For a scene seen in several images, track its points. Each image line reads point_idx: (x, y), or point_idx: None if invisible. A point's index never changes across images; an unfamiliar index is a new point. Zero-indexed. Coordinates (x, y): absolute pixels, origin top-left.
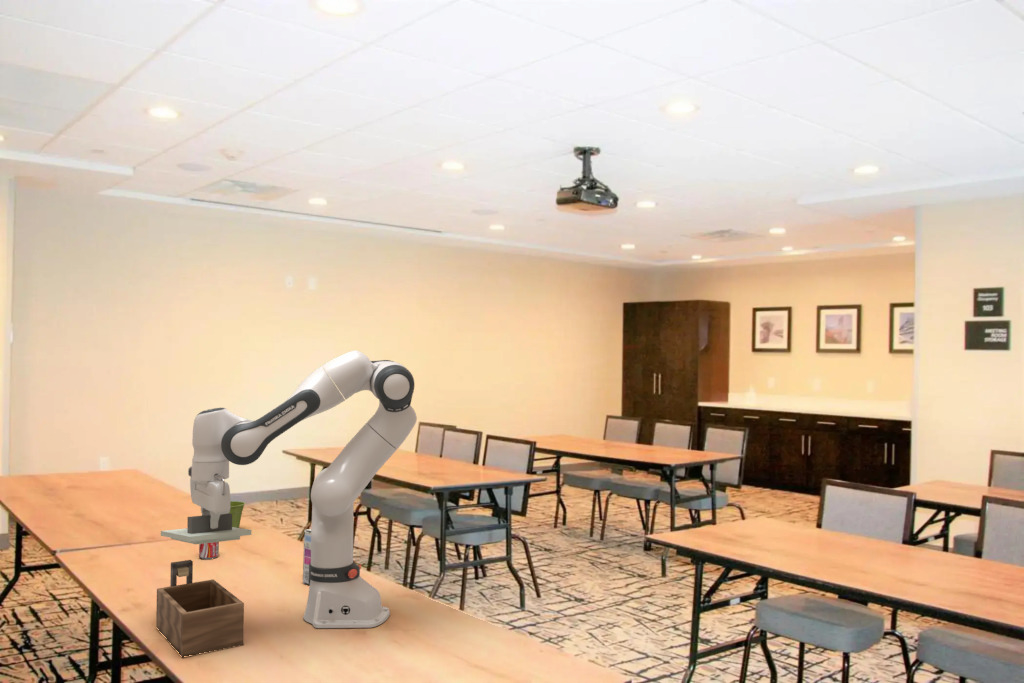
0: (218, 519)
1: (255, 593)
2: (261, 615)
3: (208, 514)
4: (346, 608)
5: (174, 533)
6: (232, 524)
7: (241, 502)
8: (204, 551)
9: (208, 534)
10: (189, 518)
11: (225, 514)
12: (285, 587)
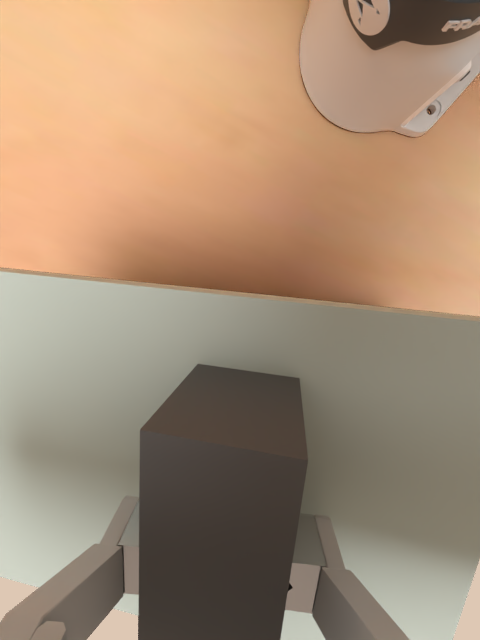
0: (368, 593)
1: (62, 127)
2: (239, 198)
3: (99, 584)
4: None
5: (126, 609)
6: None
7: None
8: None
9: (451, 608)
10: None
11: (295, 527)
12: (52, 21)
